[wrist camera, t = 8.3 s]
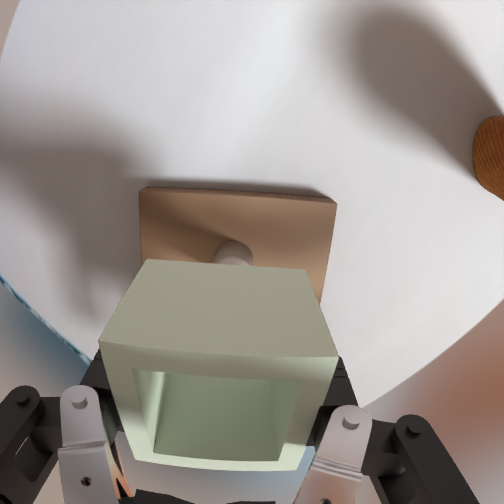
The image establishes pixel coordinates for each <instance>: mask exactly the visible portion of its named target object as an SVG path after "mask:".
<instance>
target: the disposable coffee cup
mask: <svg viewBox="0 0 504 504" xmlns="http://www.w3.org/2000/svg"><path fill="white" fill-rule="evenodd" d="M472 157H473V166H474V170H475V173H476V176H477V178H478V180H479V182H480V184H481V185H482V186H483V187H484V188H485V189H486V190H488V191H489V192H491V193H493V194H494V195H496V196H497V197H499V198H500V199H502V200H503V201H504V117H503V116H499V117H490V118H488V119H486V120H485V121H484V122H483V123H482V124H481V125H480V126H479V128H478V130H477V132H476V135H475V138H474V142H473V151H472Z"/></svg>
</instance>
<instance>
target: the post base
mask: <svg viewBox="0 0 504 504" xmlns="http://www.w3.org/2000/svg"><path fill="white" fill-rule="evenodd" d="M336 209H337V203H335V202H334V201H333V200H332V199H331V198H321V197H311V196H300V195H288V194H276V193H263V192H248V191H233V190H215V189H193V188H165V187H146V188H144V189H142V190H141V191H139V215H140V238H141V254H142V266H143V264H144V263H145V261H146V259H156V260H170V261H184V262H198V263H212V264H227V265H243V266H258V267H274V268H291V269H305V270H306V273H307V275H308V278H309V280H310V283H311V285H312V288H313V290H314V293H315V295H316V298H317V300H318V303H319V305H320V301H321V296H322V291H323V286H324V281H325V275H326V270H327V264H328V259H329V253H330V247H331V241H332V235H333V229H334V222H335V216H336Z"/></svg>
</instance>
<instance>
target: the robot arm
mask: <svg viewBox="0 0 504 504" xmlns="http://www.w3.org/2000/svg"><path fill="white" fill-rule="evenodd" d="M117 431H122V432H125V431H124V428H123V425H122V422H121V419H120V416H119V413H118V410H117V407H116V404H115V401H114V398H113V394H112V391H111V388H110V384H109V381H108V377H107V374H106V370H105V366H104V363H103V359H102V355H101V351H100V348H99V350H98V352H97V353H96V355H95V357H94V360H92V362H91V364H90V366H89V368H88V369H87V371H86V373H85V375H84V377H83V379H82V381H81V383H80V384H79V385H77V386H73V387H70V388H68V389H67V390H66V391H64V393H63V394H62V395H61V397H40V395H39V393H38V391H37V390H36V389H35V388H33V387H31V386H19V387H16V388H15V389H14V390H12V391H11V392H10V393H9V394H8V395H7V396H6V398H5V399H4V400H3V401H2V402H1V403H0V504H33V502H34V500H35V499H36V497H37V495H38V493H39V491H40V490H41V488H42V486H43V485H44V483H45V481H46V479H47V478H48V476H49V474H50V473H51V471H52V469H53V468H54V466H55V464H56V463H57V461H59V470H60V476H61V484H62V491H63V497H64V502H65V504H194V503H191V502H188V501H184V500H182V499H179V498H176V497H174V496H170V495H167V494H160V493H154V492H148V491H144V490H139V489H137V490H136V494H135V497H133V495H132V493H131V491H130V489H129V486H128V483H127V480H126V477H125V474H124V470H123V467H122V463H121V459H120V455H119V452H118V448H117V444H116V441H115V437H116V434H117ZM26 438H27V439H26ZM25 439H26V441H25ZM24 441H25V442H24ZM23 442H24V444H23ZM22 444H23V445H22ZM21 445H22V447H21ZM306 446H315V451H316V453H315V456H314V458H313V460H312V463H311V465H310V467H309V469H308V472H307V474H306V476H305V478H304V481H303V483H302V485H301V487H300V489H299V491H298V493H297V496H296V498H295V500H294V502H293V503H292V504H354V503H355V500H356V497H357V494H358V491H359V488H360V484H361V480H362V475H368V476H369V477H370V479H371V481H372V483H373V485H374V487H375V490H376V492H377V494H378V496H379V498H380V501H381V503H382V504H479V502H478V500H477V499H476V497H475V495H474V494H473V492H472V490H471V489H470V487H469V486H468V484H467V482H466V481H465V479H464V477H463V476H462V474H461V472H460V471H459V469H458V468H457V466H456V464H455V463H454V461H453V460H452V458H451V456H450V455H449V453H448V452H447V450H446V449H445V447H444V445H443V444H442V442H441V441H440V439H439V438H438V436H437V435H436V433H435V432H434V430H433V428H432V427H431V426H430V424H429V423H428V421H426V420H425V419H424V418H422V417H420V416H418V415H412V414H410V415H405V416H402V417H401V418H400V419H398V421H397V422H396V423H389V422H383V421H377V420H374V419H371V416H370V415H369V413H368V412H367V411H366V410H364V409H363V408H360V407H359V406H358V403H357V400H356V397H355V394H354V391H353V389H352V386H351V383H350V380H349V378H348V374H347V372H346V370H345V366H344V363H343V360H342V358H341V357H340V356H339V359H338V362H337V365H336V368H335V371H334V374H333V377H332V380H331V383H330V386H329V389H328V391H327V394H326V397H325V400H324V403H323V405H322V406H320V407H319V410H318V413H317V416H316V419H315V421H314V424H313V427H312V430H311V432H310V435H309V438H308V440H307V443H306ZM20 447H21V448H20ZM19 448H20V449H19ZM18 449H19V451H18ZM17 451H18V452H17ZM16 452H17V454H16ZM15 454H16V455H15ZM228 504H275V501H272V502H271V501H270V502H250V501H248V502H247V501H246V502H245V501H240V502H234V503H228Z"/></svg>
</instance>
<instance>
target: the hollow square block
mask: <svg viewBox="0 0 504 504" xmlns="http://www.w3.org/2000/svg"><path fill="white" fill-rule="evenodd" d="M98 343H99V347H100V351H101V355H102V359H103V363H104V366H105V370H106V374H107V377H108V381H109V384H110V388H111V391H112V394H113V398H114V401H115V404H116V407H117V410H118V413H119V416H120V419H121V422H122V425H123V428H124V431H125V433H126V436H127V438H128V441H129V443H130V447H131V449H132V452H133V454H134V457H135V459H136V460H141V461H147V462H153V463H160V464H167V465H174V466H183V467H192V468H202V469H216V470H217V469H218V470H236V471H237V470H239V471H284V470H296V469H297V467H298V465H299V462H300V460H301V458H302V455H303V453H304V451H305V449H306V443H307V440H308V438H309V435H310V432H311V430H312V427H313V424H314V421H315V419H316V416H317V413H318V410H319V407H320V406H322V405H323V403H324V400H325V397H326V394H327V391H328V389H329V386H330V383H331V380H332V377H333V374H334V371H335V368H336V365H337V362H338V359H339V355H338V352H337V350H336V347H335V344H334V342H333V339H332V337H331V334H330V331H329V329H328V326H327V323H326V321H325V318H324V316H323V313H322V311H321V308H320V305H319V303H318V300H317V298H316V295H315V293H314V290H313V288H312V285H311V283H310V280H309V278H308V275H307V273H306V270H305V269H291V268H274V267H258V266H243V265H227V264H212V263H198V262H184V261H170V260H156V259H146V261H145V263H144V264H143V266H142V267H141V269H140V270H139V272H138V274H137V275H136V277H135V278H134V280H133V282H132V283H131V285H130V287H129V288H128V290H127V291H126V293H125V295H124V296H123V298H122V300H121V301H120V303H119V305H118V306H117V308H116V310H115V311H114V313H113V315H112V317H111V318H110V320H109V322H108V324H107V325H106V327H105V329H104V330H103V332H102V334H101V336H100V338H99V339H98Z"/></svg>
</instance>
